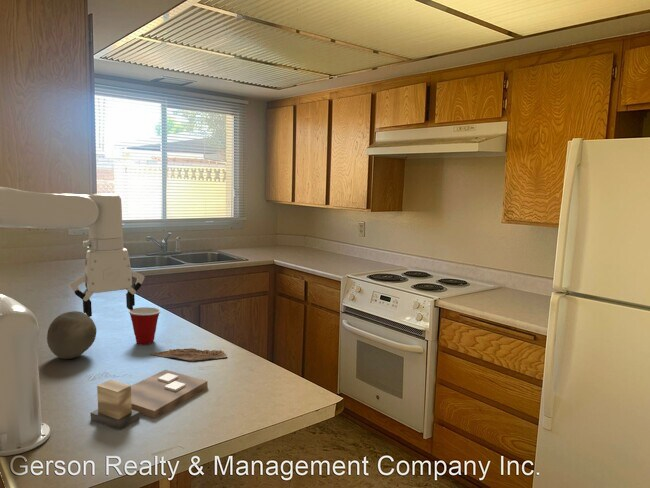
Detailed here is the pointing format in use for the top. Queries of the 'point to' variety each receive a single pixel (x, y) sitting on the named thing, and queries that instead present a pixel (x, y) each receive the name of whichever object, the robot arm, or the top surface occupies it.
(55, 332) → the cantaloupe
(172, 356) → the wooden fragment
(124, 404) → the block
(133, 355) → the top surface
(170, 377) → the tile
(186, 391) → the board
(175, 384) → the tile
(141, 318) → the plastic cup
